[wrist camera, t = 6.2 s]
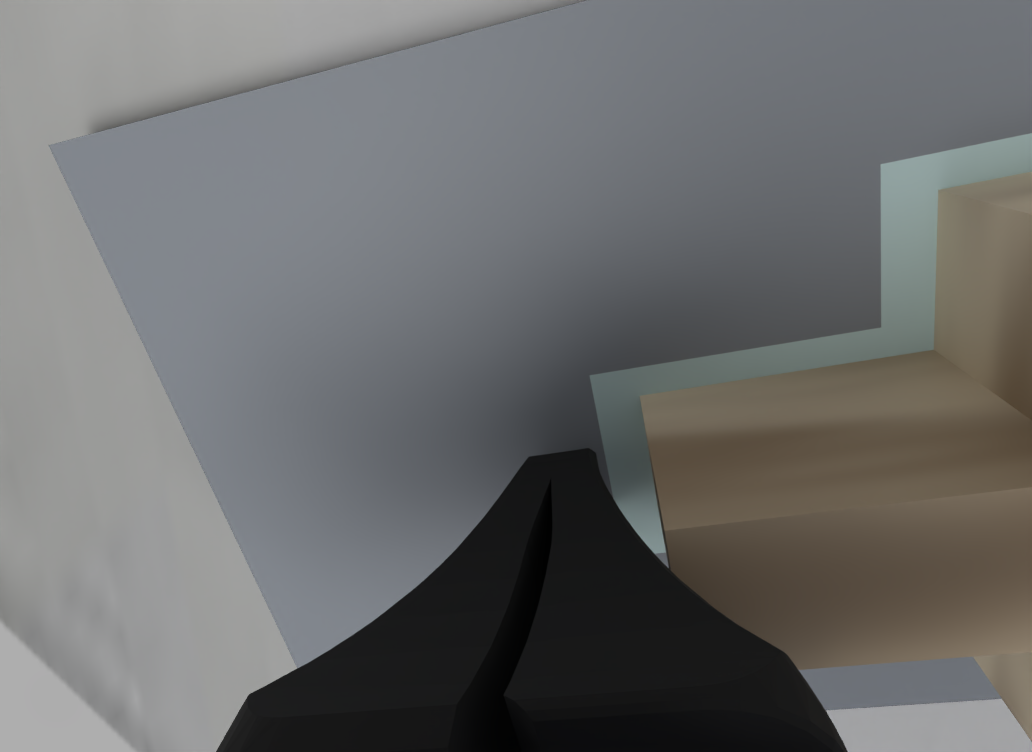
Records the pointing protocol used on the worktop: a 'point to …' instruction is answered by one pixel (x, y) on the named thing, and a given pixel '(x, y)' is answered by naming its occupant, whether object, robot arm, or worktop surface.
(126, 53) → the worktop surface
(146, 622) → the worktop surface
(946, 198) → the t block
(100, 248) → the board
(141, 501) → the worktop surface
